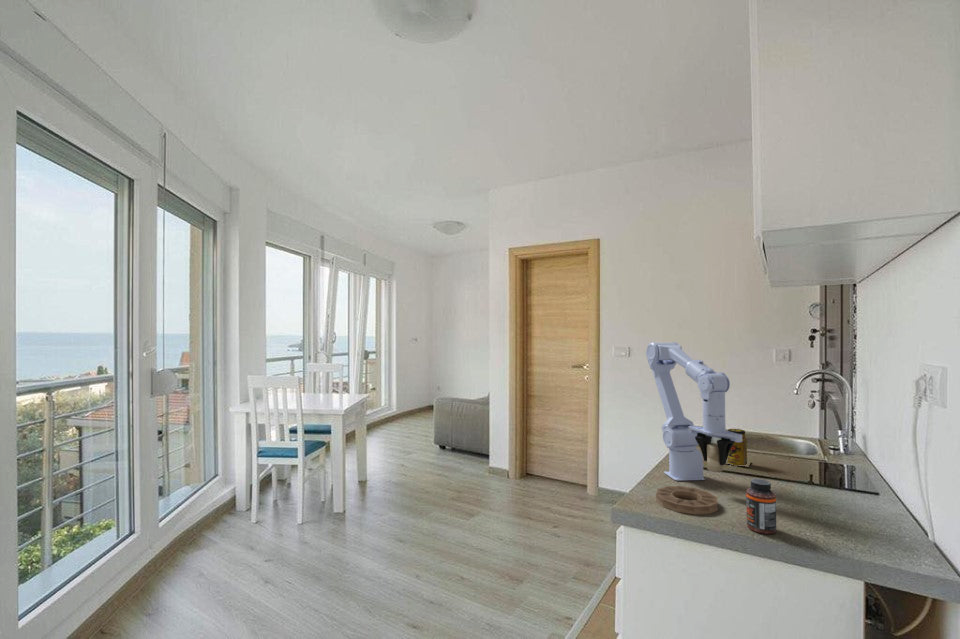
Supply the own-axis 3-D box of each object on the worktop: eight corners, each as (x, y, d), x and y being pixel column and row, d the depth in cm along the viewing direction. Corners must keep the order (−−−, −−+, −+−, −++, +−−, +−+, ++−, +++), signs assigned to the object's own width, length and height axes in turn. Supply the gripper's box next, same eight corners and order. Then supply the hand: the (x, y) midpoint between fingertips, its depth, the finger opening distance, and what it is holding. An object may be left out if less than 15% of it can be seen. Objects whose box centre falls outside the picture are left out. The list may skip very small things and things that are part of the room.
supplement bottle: (741, 524, 109) (740, 476, 109) (766, 524, 109) (765, 477, 109) (755, 535, 103) (755, 485, 103) (782, 535, 103) (781, 485, 103)
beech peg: (717, 467, 131) (717, 443, 131) (725, 471, 127) (725, 446, 127) (704, 467, 131) (703, 443, 131) (712, 471, 127) (711, 446, 127)
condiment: (724, 464, 157) (723, 430, 157) (728, 459, 163) (728, 426, 164) (748, 468, 152) (747, 433, 152) (752, 462, 159) (751, 428, 159)
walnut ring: (697, 492, 130) (697, 485, 130) (730, 513, 115) (729, 505, 115) (647, 493, 129) (647, 486, 129) (673, 515, 114) (673, 507, 114)
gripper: (682, 412, 133) (683, 458, 133) (732, 420, 121) (733, 471, 121) (695, 410, 137) (696, 455, 137) (745, 417, 125) (746, 466, 125)
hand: (714, 462), depth 129 cm, fingers closed on beech peg, 4 cm apart
